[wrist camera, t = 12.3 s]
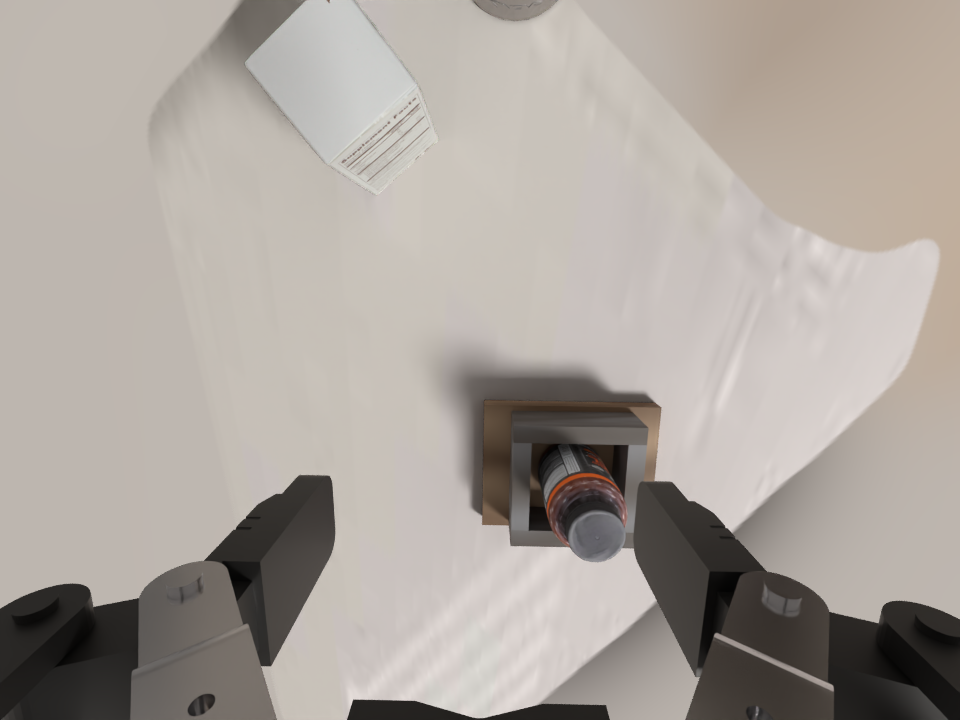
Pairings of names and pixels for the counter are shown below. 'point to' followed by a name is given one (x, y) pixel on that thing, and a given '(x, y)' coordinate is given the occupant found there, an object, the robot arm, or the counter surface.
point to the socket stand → (538, 424)
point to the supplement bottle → (582, 501)
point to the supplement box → (345, 92)
